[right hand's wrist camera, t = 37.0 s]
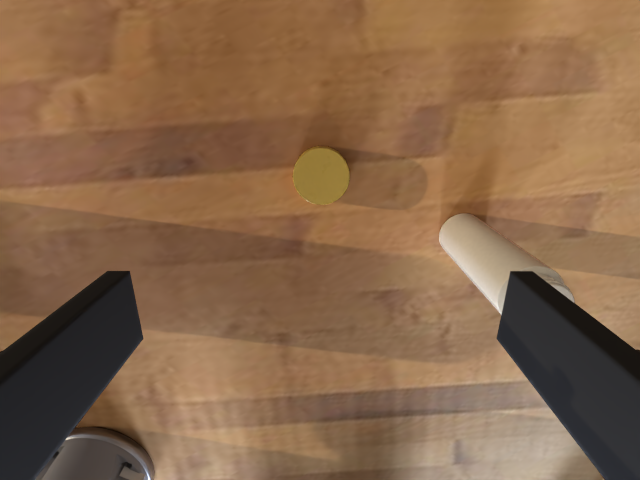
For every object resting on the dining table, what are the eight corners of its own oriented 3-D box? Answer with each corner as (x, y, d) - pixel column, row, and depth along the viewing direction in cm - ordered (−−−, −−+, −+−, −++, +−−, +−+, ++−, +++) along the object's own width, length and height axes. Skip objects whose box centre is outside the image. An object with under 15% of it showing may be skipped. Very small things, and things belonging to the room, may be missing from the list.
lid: (320, 211, 39) (320, 216, 37) (282, 172, 37) (280, 176, 35) (359, 174, 38) (362, 178, 36) (322, 133, 36) (322, 134, 34)
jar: (446, 209, 39) (525, 272, 24) (490, 217, 39) (595, 284, 24) (433, 251, 40) (499, 334, 26) (475, 258, 41) (564, 345, 26)
